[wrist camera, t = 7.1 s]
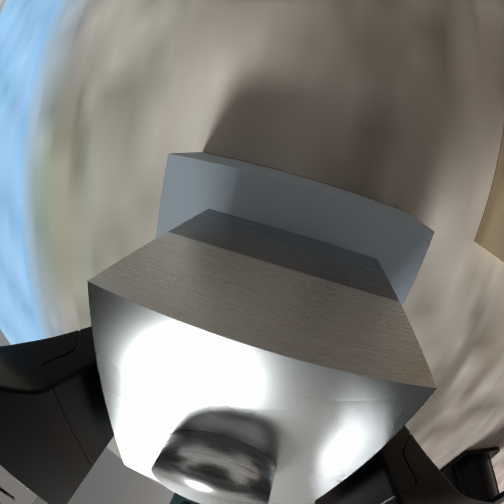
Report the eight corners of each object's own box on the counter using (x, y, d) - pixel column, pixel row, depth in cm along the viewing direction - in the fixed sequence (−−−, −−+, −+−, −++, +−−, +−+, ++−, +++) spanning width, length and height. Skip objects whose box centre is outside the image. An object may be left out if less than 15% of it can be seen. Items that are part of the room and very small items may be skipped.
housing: (377, 259, 7) (451, 431, 2) (303, 405, 10) (282, 538, 5) (208, 208, 8) (48, 308, 3) (183, 367, 10) (113, 483, 5)
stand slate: (407, 212, 10) (434, 231, 8) (334, 372, 14) (334, 414, 11) (201, 152, 11) (168, 153, 9) (175, 323, 15) (149, 356, 12)
